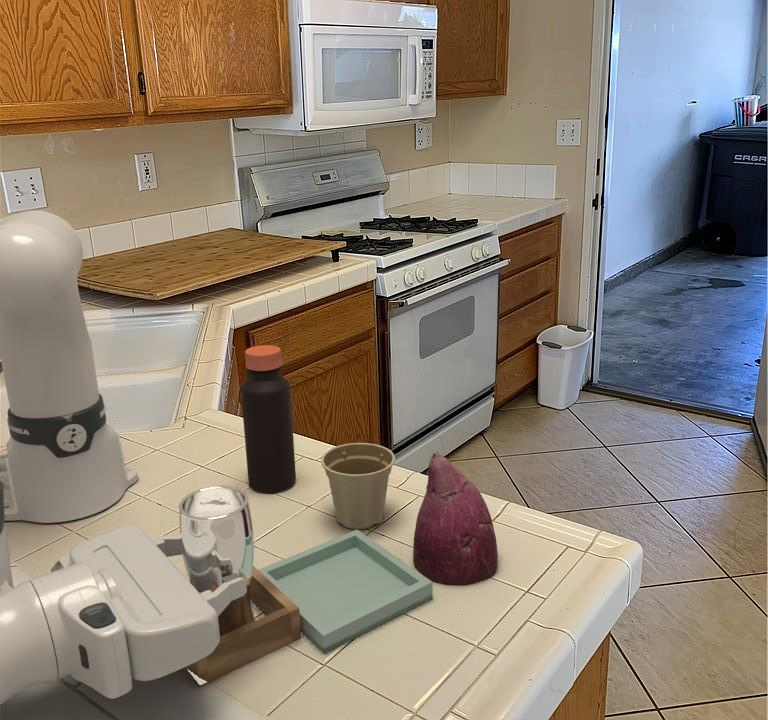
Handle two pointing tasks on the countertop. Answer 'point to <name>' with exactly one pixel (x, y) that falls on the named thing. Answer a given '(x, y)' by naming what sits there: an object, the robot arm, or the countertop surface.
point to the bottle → (267, 421)
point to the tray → (347, 588)
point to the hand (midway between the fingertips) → (220, 560)
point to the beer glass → (219, 546)
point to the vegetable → (453, 529)
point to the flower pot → (358, 482)
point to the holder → (253, 632)
